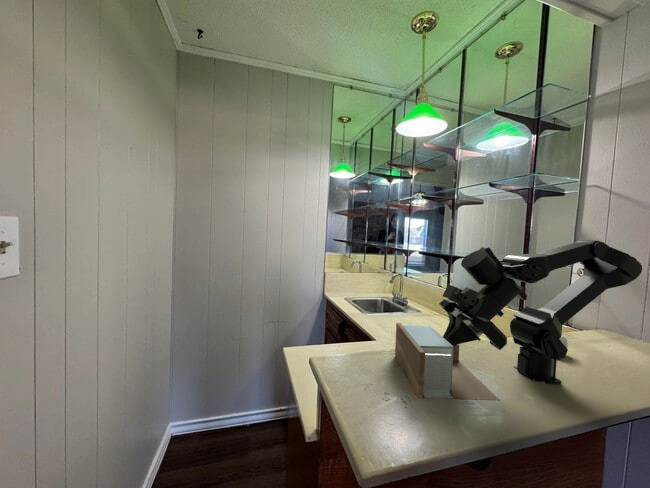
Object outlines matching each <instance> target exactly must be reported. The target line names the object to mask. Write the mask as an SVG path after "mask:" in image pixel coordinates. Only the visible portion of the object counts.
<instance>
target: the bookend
mask: <svg viewBox="0 0 650 488" xmlns="http://www.w3.org/2000/svg"><path fill="white" fill-rule="evenodd" d="M451 360H452V355H451V354H443V353H425V369H424V391H423V396H424V398H423V399H437V398H445V399H444V400H454V399H453V397H452V396H451V394H450V380H451Z"/></svg>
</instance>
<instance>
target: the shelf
mask: <svg viewBox="0 0 650 488" xmlns="http://www.w3.org/2000/svg"><path fill="white" fill-rule="evenodd" d="M394 345H395V350H394V351H395V352H394V358H395V359H396V361H397V363H398V365H399V367H400V368H401V370H402V372H403V374H404V375H405V378H406V379H407V381H408V383H409V384H410V387H411V388H412V390H413V391H414V393H415V395H416V397H417V399H425V398H424V396H423V391H424V369H425V352H424V350H423V349H422V348H421V347H420V346H419V344H418V343H417V342H416V341H415V340H414V338H413V337H412V336H411V335H410V334H409V333H408V331H407V330H406V329H405V328H404V327H403V324H402V323H401V322H396V324H395V344H394ZM453 347H454V350H453V370H452V390H450V394H451V396H452V397H453V399H452V400H474V401H475V400H479V401H501V400H500V398H499V397H497V395H496V394H494V393H493V392H492V390H490V388H489V387H487V386H486V385H485V384H484V383H483V382H482V381H481V380H480V379H479V378H478V377H476V375H474V373H472V372H471V371H470V370H469V369H468V368H467V367H466V366H465V365H464V364H463V363H462V362H461V361H460V360H459V359H460V344H458V345H454V346H453ZM436 399H438V400H439V399H442V400H446V399H445V398H436Z"/></svg>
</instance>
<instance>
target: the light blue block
mask: <svg viewBox="0 0 650 488" xmlns="http://www.w3.org/2000/svg"><path fill="white" fill-rule="evenodd" d="M402 325H403V324H402ZM403 327H404V328H405V329H406V330H407V331H408V333H409V334H410V335H411V336H412V337H413V338H414V340H415V341H416V342H417V343H418V344H419V346H420V347H421V348H422V349H423V350H424V352H425V353H443V354H451V355H452V360H451V380H450V390H452V370H453V350H454V347H453V346H452V345H451V344H450V343H449V342H448V341H447V340H445V339H444V338H443V335H441V334H440V333H439V332H438V331H436V330H435V328H433V327H432V326H431V325H405V324H404V325H403Z"/></svg>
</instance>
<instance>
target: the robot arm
mask: <svg viewBox="0 0 650 488" xmlns="http://www.w3.org/2000/svg"><path fill="white" fill-rule="evenodd" d="M577 263H578V264H581V265H582V266H583V274H582V275H581V276H580V277H579V278H578V279H576V280H575V281H573V282H572V283H571V284H570V285H568V287H566V288H565V289H564V290H562V291H561V292H559V293H558V294H557V295H556V296H555V297H553V298H552V299H551V300H549V301H548V302H547V303H546V304H545V305H543V306H542V307H540V308H534V307H531V306H525V307H523V308H522V309H521V311H519V312H518V313H515V314H513V316H514V317H513V318H512V320H511V321H510V322H509V330H510V333H511V334H510V335H511V336H512V341H513V343H514V344H516V345H518V346H519V353H518V354H517V364H516V365H517V366H513V368H514V369H515V370H517V371H518V372H519V373H520V374H522V375H523V376H525V377H527V378H528V379H530V380H531V381H532V382H539V383H540V382H542V383H546V384H552V385H553V384H559V385H562V384H563V383H562V380H560V379H559V378H557V377H556V375H557V374H556V373H557V362H558V361H561V359H565V358H566V357H567V354H568V350H569V349H568V347H567V348H566V346H565V345H564V344H563V343H562V342H561V341H560V338H561V336H563V335H562V334H563V333H562V332H563V326H564V324H565V323H567V322H568V321H570V319H572V318H573V317H574V316H576V315H577V314H578V313H579V312H580V311H582V310H583V309H584V308H586V306H588V305H589V304H590V303H592V302H593V301H594V300H595V299H597V298H598V297H599V296H600V295H601V294H602V293H604V292H605V291H607V290H608V289H612V288H619V287H623V286H626V285H628V284H629V283H631V282H634V281H635V280H636V279H638V278H639V276H641V274H642V272H643V265H642V264H641V262H639V261H638V260H637V258H636V257H634V256H632V255H630V254H628V253H627V252H623V251H622V250H619V249H617V248H614V247H611V246H609V245H608V244H607V243H605V242H603V241H601V240H592V239H591V240H590V239H589V240H588V239H587V240H586V239H584V240H583V239H582V240H581V239H579V240H577V241H574V242H573V243H569V244H566V245H562V246H557V247H556V248H552V249H548V250H545V251H541V252H538V253H519V254H509V255H506V256H504V257H502V259H501V260H499V258H498V257H497V256H496V255H495V254H494V252H493V250H492V249H491V248H490V247H486V246H481V247H480V248H479V250H475V251H473V252H471V253H469V254H466V255H465V256H464V257H463V258H462V260H461V262H460V265H461V267H462V268H463V269H464V271H465V272H466V273H467V274H469V276H470V277H471V279H472V280H474V281H475V282H476V284H478V285H479V286H482V287H481V289H480V290H479V291H476V290H475V289H472V288H470V287H465V288H463V289H462V288H459V287H457V286H454V285H451V284H449V283H448V284H447V286H446V287H445V290H444V292H443V294H442V297H443V300H441V301H440V302H439V303H438V305H439V306H440V307H441V308H442V309H443V310H444V311H445V312H446V313H447V315H448V320H449V322H448V324H447V327H446V330H445V331H444V334H443V335H442V337H443V338H444V339H445V340H447V341H448V342H449V343H450V344H451V345H452V346H454V345H458V344H459V345H461V344H466V343H469V342H476V341H478V342H480V341H482V339H481V338H480V337H481V336H482V335H485V337H486V338H487V339H488V340H489V344H490V345H491V346H492V347H494V348H495V349H496V350H498V351H501V350H503V348H504V347H506V346H507V344H508V336H506V335H505V334H504V333H503V332H502V331H501V329H500V328H499V327H498V326H497V325H495V323H494V322H493V321H492V319H494V318H495V317H496V316H497V317H500V318H501V317H503V316H504V315H505V313H504V312H503V311H502V310H503V309H504V308H505V307H507V306H508V304H509V303H511V301H512V300H514V299H515V298H518V299H520V300H523V301H527V298H528V297H527V296H528V295H527V293H526V290H527V288H526V287H523V286H521V285H519V284H518V283H517V282H521V283H527V284H536V283H538V282H540V281H542V280H544V279H546V278H547V277H549V275H550V272H553V271H554V270H558V269H561V268H565V267H569V266H572V265H575V264H577ZM516 281H517V282H516Z"/></svg>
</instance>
